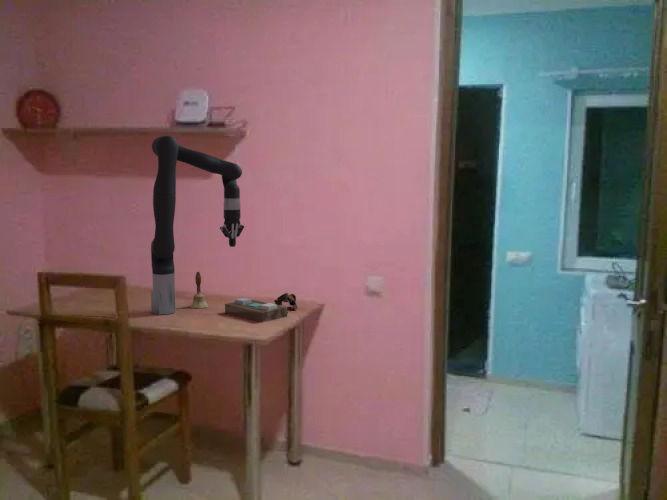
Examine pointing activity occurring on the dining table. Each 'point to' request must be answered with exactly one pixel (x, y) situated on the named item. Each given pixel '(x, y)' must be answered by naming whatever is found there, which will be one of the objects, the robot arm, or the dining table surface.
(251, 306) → the teal key
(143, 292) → the dining table surface
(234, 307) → the console
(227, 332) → the dining table surface
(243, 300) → the grey key
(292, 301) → the pottery mug
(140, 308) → the dining table surface
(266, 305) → the cream key
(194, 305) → the hand bell
